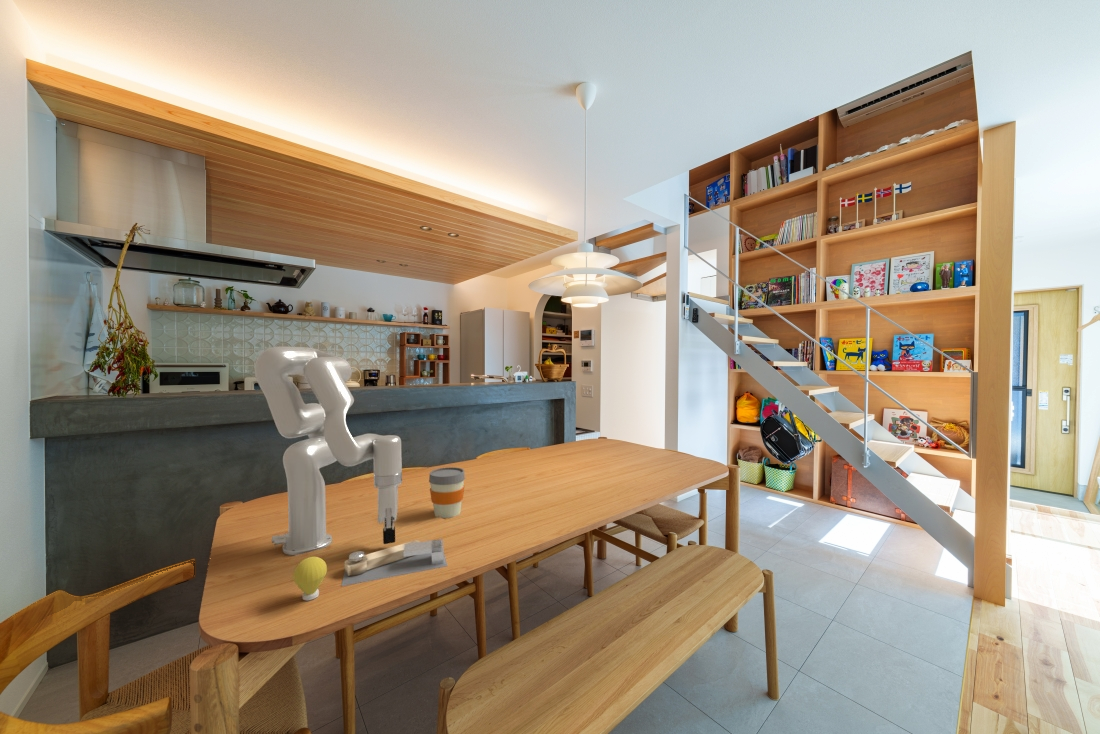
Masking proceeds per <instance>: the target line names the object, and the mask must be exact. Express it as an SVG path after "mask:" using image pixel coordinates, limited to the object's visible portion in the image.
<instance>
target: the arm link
mask: <svg viewBox="0 0 1100 734" xmlns="http://www.w3.org/2000/svg"><path fill="white" fill-rule="evenodd" d="M415 542H420V541H419V540H418V539H415V540H411V541H408V542H404V543H401V544H398V545H395V546H391V547H387V548H384V549H381V550H377V551H375V552H370V553H368V554H364V557H362V560H361V561H358V562H352V561H351V560H350V559H349V558H348V559H346V560H345V561H344V572H346V574H347V575H348V576H350V575H358V574H361V573H363V572H365V571H366V570H369V569H372V568H375V567H378V566H381V565H385V564H388V563H391V562H394V561H397V560H400V559H403V558H407V557H410V556H406V557H404V545H405V544H407V543H415Z"/></svg>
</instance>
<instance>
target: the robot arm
mask: <svg viewBox="0 0 1100 734" xmlns="http://www.w3.org/2000/svg"><path fill="white" fill-rule="evenodd" d="M352 374H353V372H352V367H351V364H350V363H349V362H348V361H347V359H345V358H343V357H342V356H341V357H340V356H339V355H338V356H337V355H335V354H331V353H330V352H329V353H328V352H326V351H322V350H319V349H317V348H314V347H307V346H305V347H304V346H288V345H287V346H273V347H268V348H267V349H264V350H263V351H262V352H261V353H260V354H259V355H258V357H257V359H256V361H255V365H254V375H255V379H256V382H257V384H258V386H259V387H260V390H261V391H262V392H263V395H264V397H265V399H266V402H267V405H268V408H269V410H270V413H271V416H272V419H273V422H274V423H275V424H274V425H275V426H276V428H277V431H278V433H279V434H280V435H281V436H282V437H284V438H285V439H296V438H301V437H304V436H308V438H306V439H304V440H303V439H302V440H299V441H297V442H295V443H293V444H291V445H289V446H288V447H286V450H285V451H284V453H283V456H282V464H283V468H284V471H285V476H286V485H287V512H288V513H287V514H288V516H287V518H288V532H286V533H284V534H279V535H272V536H271V543H272V544H274V546H277V545H282V544H283V546H282V552H283V553H284V554H285V555H289V556H299V555H303V554H306V553H310V552H314V551H318V550H321V549H325V548H327V547H328V546H330V544H331V543H332V541H333V537H332V536H333V535H331V534H330V533H328V532H327V524H326V523H327V520H326V519H327V517H326V516H327V515H326V514H327V513H326V512H327V510H326V483H325V480H324V477H323V475H322V473H321V471H320V469H321V468H324V467H326V466H329V465H331V464H333V463H336V462H338V463H339V464H340V465H342V466H345V467H354V466H357V465H360V464H362V463H364V462H367V461H370V460H372V459H373V487H374V488H377V523H378V524H379V525H381V523H383V528H382V540H383V541H382V543H383V545H387V544H393V543H395V542H396V526H395V522H396V521H397V516H398V507H399V506H398V503H399V496H398V495H399V491H398V490H399V489H398V488H399V487H398V486H400V485H402V484H403V473H402V472H403V471H402V470H403V469H402V468H403V465H402V464H403V463H402V462H403V461H402V460H403V459H402V458H403V457H402V439H401V437H400V436H399V435H393V434H392V435H391V434H388V435H380V434H377V433H364V434H361V435H357V436H354V437H353V436H352V434H351V432H350V431H349V428H348V425H347V421H346V419H347V418H346V416H347V413H348V411H349V409H350V408H351V407H352V406H353V404H354V401H355V398H354V396H353V394H352V393H351V391H350V389H349V388H348V386H347V382H348V381H349V380H350V379H351V377H352ZM290 375H291V376H293V375H304V378H305V379H306V382H307V383H308V385H309V387H310V389H311V391H312V393H313V394H314V396H315V398H316V399H317V401H318V403H315V402H311V403H305V402H304V400H303V397H302V395H301V392H300V390H299V388H298V387H297V385H296V384H295V383H294V382H293V380H291V379H290V378H289V376H290Z"/></svg>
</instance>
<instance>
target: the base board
mask: <svg viewBox="0 0 1100 734" xmlns="http://www.w3.org/2000/svg"><path fill="white" fill-rule="evenodd" d="M445 567H448V563H447V560H446V555H445V551H444V550H443V563H442V564H435V565H432V553H428V554H421V555H414V556H410V557H407V558H403V559H400V560H397V561H394V562H391V563H388V564H385V565H381V566H378V567H375V568H372V569H369V570H366V571H365V572H363V573H361V574H358V575H350V576H348V575H347V574H346V572H345V571H344V572H343V577H342V582H341V586H340V587H345V586H346V587H347V586H350V585H356V584H362V583H367V582H373V581H377V580H381V579H387V578H393V577H398V576H404V575H408V574H409V575H410V574H414V573H419V572H423V571H424V572H425V571H429V570H435V569H440V568H445Z"/></svg>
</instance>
